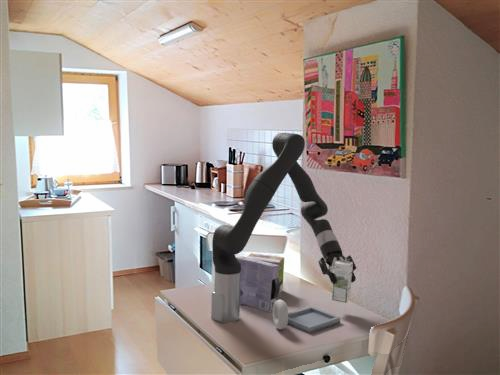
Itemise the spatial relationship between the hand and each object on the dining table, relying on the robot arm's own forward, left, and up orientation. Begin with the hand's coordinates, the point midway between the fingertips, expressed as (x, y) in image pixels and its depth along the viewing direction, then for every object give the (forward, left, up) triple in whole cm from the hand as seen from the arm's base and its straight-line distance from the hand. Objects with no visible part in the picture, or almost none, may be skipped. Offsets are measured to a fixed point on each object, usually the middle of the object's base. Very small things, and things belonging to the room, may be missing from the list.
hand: (344, 282), depth 189 cm
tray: (-16, +2, -12) cm, 20 cm away
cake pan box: (-21, +26, -13) cm, 35 cm away
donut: (-29, +4, -12) cm, 31 cm away
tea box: (-7, +37, -13) cm, 40 cm away
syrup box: (0, +1, -7) cm, 7 cm away
